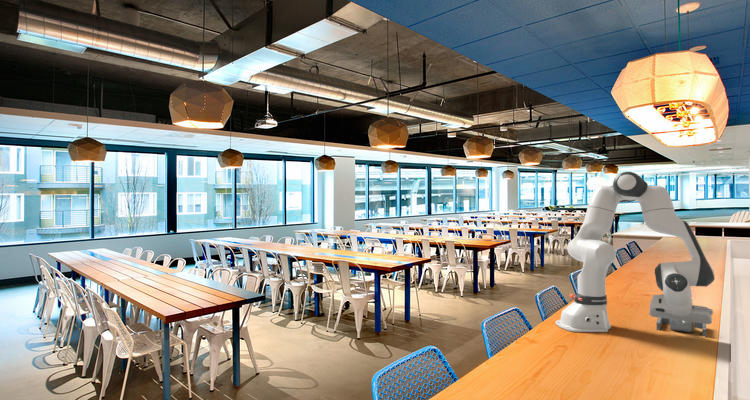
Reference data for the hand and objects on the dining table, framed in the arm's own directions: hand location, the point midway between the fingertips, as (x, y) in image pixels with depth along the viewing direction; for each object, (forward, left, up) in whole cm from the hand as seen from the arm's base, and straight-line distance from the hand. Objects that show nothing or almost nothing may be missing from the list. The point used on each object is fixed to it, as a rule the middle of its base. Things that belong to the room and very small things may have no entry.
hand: (680, 322), depth 164 cm
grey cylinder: (+4, +4, -5) cm, 8 cm away
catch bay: (+5, +5, -4) cm, 8 cm away
